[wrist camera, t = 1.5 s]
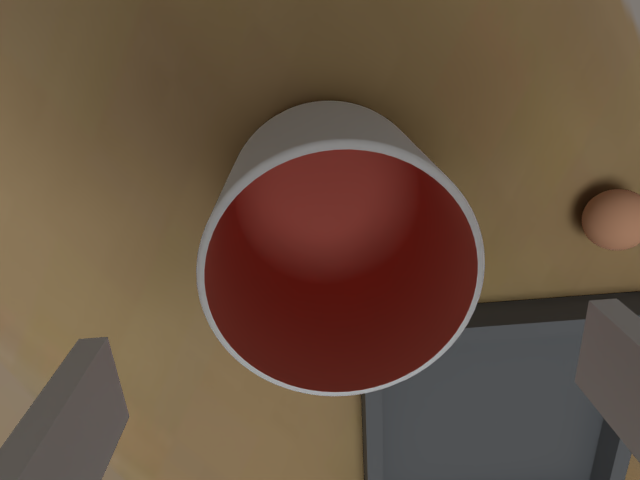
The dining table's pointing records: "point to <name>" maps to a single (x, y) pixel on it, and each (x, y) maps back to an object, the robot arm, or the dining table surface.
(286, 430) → the dining table surface
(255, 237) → the cup
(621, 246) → the ball
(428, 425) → the tray
